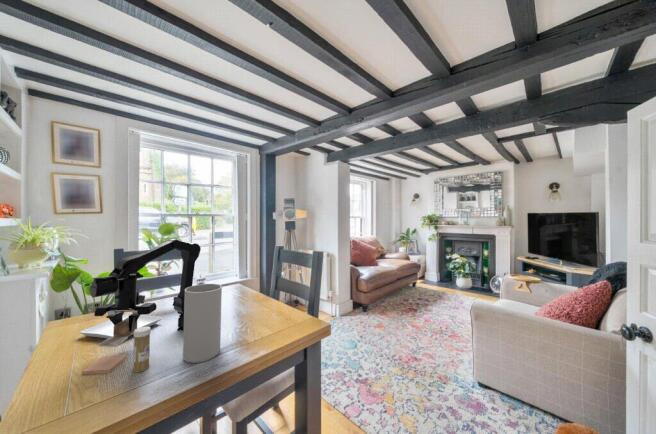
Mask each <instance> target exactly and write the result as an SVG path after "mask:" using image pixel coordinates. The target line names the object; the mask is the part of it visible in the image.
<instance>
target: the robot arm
mask: <svg viewBox="0 0 656 434" xmlns="http://www.w3.org/2000/svg"><path fill="white" fill-rule="evenodd" d="M173 250H176V251H180V256H181V259H182V262H183V264H182V270H181V280H180V287H179V292H178V294H177V295H176V296H174V297H173V302H172V303H173V304H172V306H173V310H175V311H176V312H177V314H178V315H179V316H178V318H177V331H184V298H185V289H186V288H187V287H190V286H193V284H194V283H193V280H194V273H195V265H196V261H197V259H199V256H200V255H201V254H200V253H201V250H202V249H201V246H200V245H199V244H198V243H196V242H185V241H182V240H180V239H174V238H169V240H166V241H165V242H162V244H159V245H157V246H155V247H152V248H150V249H148V250H146V251H144V252H141V253H138V254H135V255H130V256H127V257H124V258H121V259H119V260H118V261H117V263H116V265H115V267H114V269H112V271H110V274H108V276H102V277H101V276H100V277H99V276H98V277H93V278H92V281H91V284H90V286H89V293H90V297H92V299H93V298H98V297H103V296H109V295H113V294H115V293H116V292H117V294H116V295H115V297H114V299H115V300H116V299H117V301H116V302H117V304H116V303H108V304H107V303H106V304H103V305H101V306H98V307H97V308H96V309H94V313H93V316H94V317H103V316H105V315H106V314H107V316H105V319H108V320H110V321H111V322H112V323H113V324H114V325H116V324H118V323H119V322H121V321H122V317H123V315H125V312H129V313H130V312H132V313H130V314H131V315H130V316H129V330H130V332H132V331H133V329H134V327H135V324H136V322H137V320H138V318H139V316H140V315H146V316H148V315H150V314H151V313H153V312H155V311H156V310H157V307H158V306H157V304H156V303H155V302H145V299H146V295H143V294H140V292H139V291H137V289H138V279H142V278H144V277H145V276H144V275H143V274H141V273H140V272H139V271H140V270H142V269H143V268H145V266H147V264H149V263H150V262H151V261H153V260H156V259H157V258H158V259H159V258H160V257H162V256H164V255H165V254H168V253H169V252H171V251H173Z"/></svg>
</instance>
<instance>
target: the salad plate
mask: <svg viewBox="0 0 656 434" xmlns="http://www.w3.org/2000/svg"><path fill="white" fill-rule="evenodd" d="M131 314H132V313H126V314H125V313H124V314H123V317H122V321H123V320H124V319H126V318H128V317H129V316H130V315H131ZM162 319H163V317H161V316H153V315H140V316H139V318H138V320H137V328H140V327H150V328H151V327H152V326H155V325H157V323H159V322H160V321H161V320H162ZM79 333H80V334H81V335H83V336H86V337H95V338H99V339H101V338H102V339H108V338H109V337H113V333H114V324H113V323H112V322H111V321H110V319H108V320H106V321H104V322H102V323H98V324H96V325H94V326H93V325H92V326H91V327H89V328H85V329H83V330H80V331H79ZM130 336H134V332H133V333H132V334H130V335H129V336H127V337H128V338H129V337H130Z"/></svg>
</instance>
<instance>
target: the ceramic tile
mask: <svg viewBox="0 0 656 434" xmlns="http://www.w3.org/2000/svg"><path fill="white" fill-rule="evenodd" d="M126 359H128V354H122V355H121V354H120V355H106V356H101V357H100V358H98V359H97V360H96V361H94V362H93V363H91V364H90V365H88V366H87V367H86V368H85V369H83V370H82V371H81V375H92V374H93V375H94V374H109V373H111V372H112V371H113V370H114V369H115V368H117V367H118V366H119V365H120V364H122V363H123V362H124V361H126Z"/></svg>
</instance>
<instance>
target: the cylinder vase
mask: <svg viewBox="0 0 656 434" xmlns="http://www.w3.org/2000/svg"><path fill="white" fill-rule="evenodd" d="M222 286H223V285H221V284H218V283H202V284H195V285H192V286H190V287H187V288H186V289H185V298H184V330H183V337H182V340H183V341H182V343H183V344H182V346H183V347H182V358H183V360H184V361H185V362H187V363H192V364H195V363H196V364H198V363H204V362H206V361H209V360H212V359H214V358H215V357H216V356H217V355H218V354H219V353H220V352H221V335H222V334H221V330H222V326H221V325H222V290H223V289H222V288H223V287H222Z"/></svg>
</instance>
